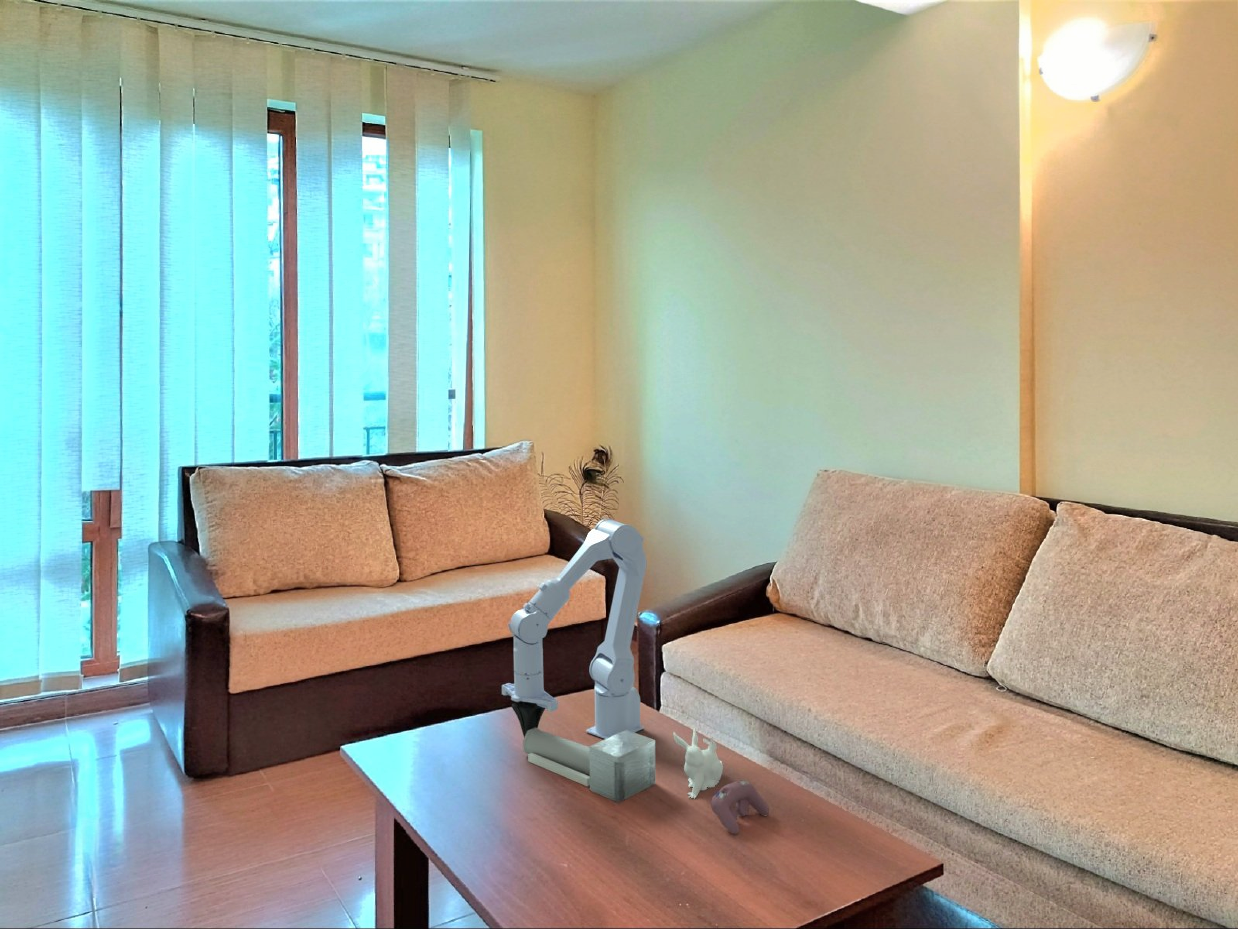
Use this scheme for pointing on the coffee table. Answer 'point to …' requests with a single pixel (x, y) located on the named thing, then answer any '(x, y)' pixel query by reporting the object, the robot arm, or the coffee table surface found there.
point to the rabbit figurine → (700, 764)
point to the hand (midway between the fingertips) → (529, 737)
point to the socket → (622, 765)
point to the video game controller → (737, 803)
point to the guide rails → (559, 769)
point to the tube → (557, 750)
